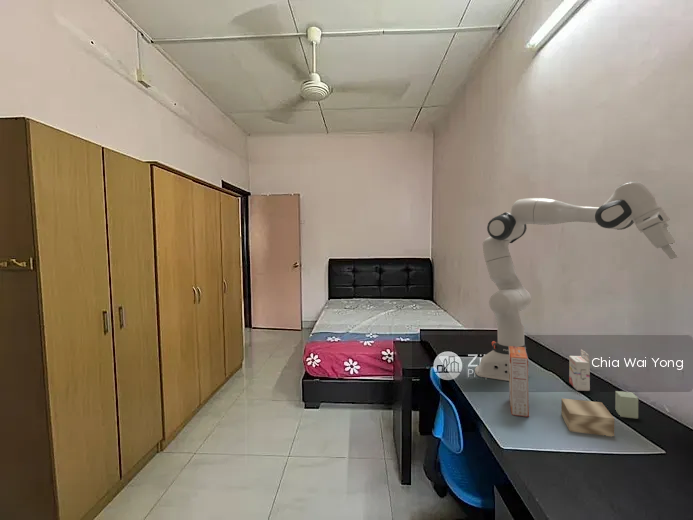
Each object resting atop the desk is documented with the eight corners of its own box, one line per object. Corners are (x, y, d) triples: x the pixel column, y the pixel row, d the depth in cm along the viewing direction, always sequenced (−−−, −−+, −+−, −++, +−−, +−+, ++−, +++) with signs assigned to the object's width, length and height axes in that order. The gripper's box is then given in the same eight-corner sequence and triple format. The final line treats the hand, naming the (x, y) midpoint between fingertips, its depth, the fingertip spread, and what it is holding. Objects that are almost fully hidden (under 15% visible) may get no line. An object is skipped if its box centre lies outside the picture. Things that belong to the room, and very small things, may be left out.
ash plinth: (569, 432, 118) (569, 413, 118) (561, 415, 130) (561, 398, 129) (614, 437, 114) (614, 418, 114) (601, 419, 126) (601, 402, 125)
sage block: (620, 416, 127) (620, 396, 127) (615, 410, 132) (615, 390, 131) (638, 418, 125) (638, 398, 125) (632, 412, 130) (632, 392, 130)
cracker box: (508, 399, 143) (508, 345, 142) (525, 401, 141) (525, 346, 140) (510, 415, 130) (509, 356, 129) (529, 417, 128) (529, 357, 127)
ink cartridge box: (568, 382, 158) (568, 348, 157) (581, 383, 157) (581, 348, 156) (576, 390, 150) (576, 354, 149) (590, 391, 149) (590, 354, 148)
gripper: (648, 226, 138) (671, 259, 134) (635, 226, 125) (659, 263, 121) (668, 217, 134) (692, 251, 130) (656, 216, 121) (683, 254, 116)
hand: (676, 257), depth 125 cm, fingers open, 8 cm apart
